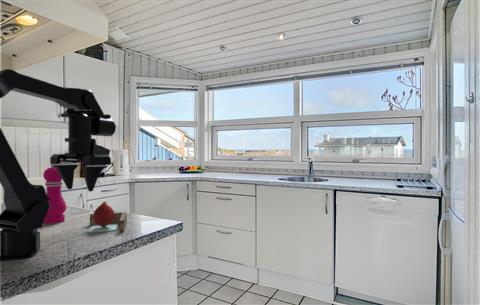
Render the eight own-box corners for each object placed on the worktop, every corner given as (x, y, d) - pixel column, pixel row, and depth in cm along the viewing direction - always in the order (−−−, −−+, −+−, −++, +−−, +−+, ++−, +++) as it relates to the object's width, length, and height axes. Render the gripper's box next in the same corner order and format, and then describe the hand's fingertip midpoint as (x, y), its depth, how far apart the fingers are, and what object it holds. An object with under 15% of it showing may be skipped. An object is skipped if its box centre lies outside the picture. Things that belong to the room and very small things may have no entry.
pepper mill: (68, 218, 101) (68, 162, 101) (63, 223, 94) (64, 162, 94) (44, 219, 98) (44, 162, 98) (38, 225, 92) (38, 163, 91)
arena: (82, 235, 81) (82, 222, 81) (90, 224, 93) (90, 213, 93) (123, 231, 84) (124, 220, 84) (126, 222, 96) (126, 211, 96)
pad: (87, 232, 83) (87, 231, 83) (92, 226, 91) (92, 225, 91) (115, 230, 86) (115, 229, 86) (118, 224, 93) (118, 223, 93)
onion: (106, 230, 85) (106, 203, 85) (88, 229, 86) (89, 203, 86) (117, 225, 90) (117, 200, 90) (101, 224, 92) (101, 199, 91)
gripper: (126, 135, 83) (126, 189, 83) (85, 136, 91) (85, 185, 91) (91, 133, 73) (91, 194, 73) (49, 134, 81) (49, 189, 81)
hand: (80, 190), depth 80 cm, fingers open, 9 cm apart
